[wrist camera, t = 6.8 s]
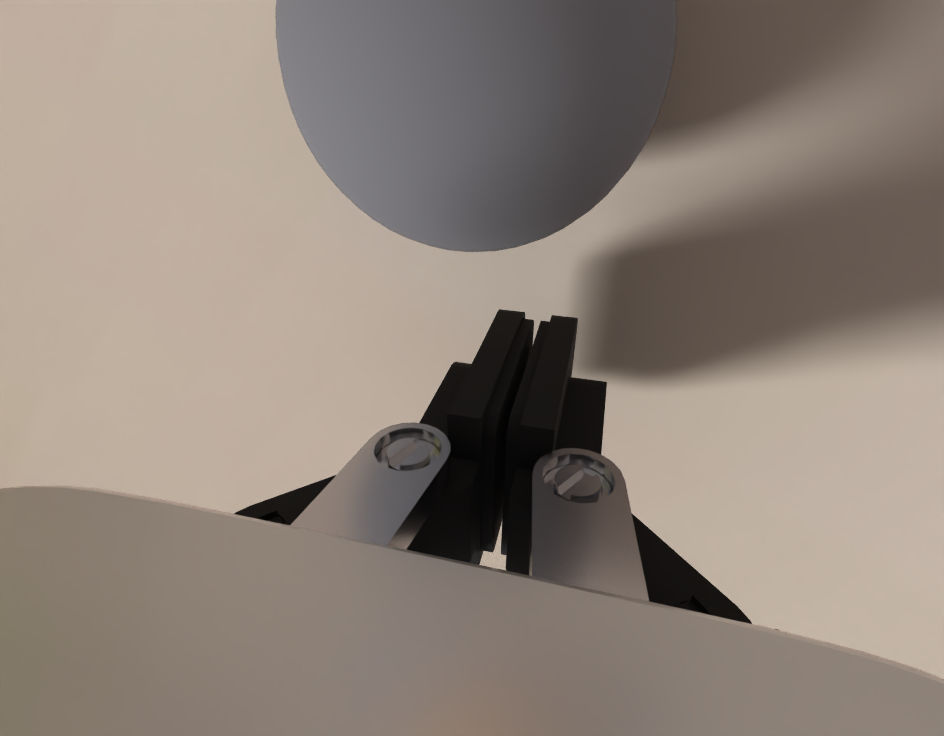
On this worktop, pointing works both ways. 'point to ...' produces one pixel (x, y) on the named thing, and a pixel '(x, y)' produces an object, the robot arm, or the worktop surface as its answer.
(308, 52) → the grey sphere
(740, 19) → the worktop surface
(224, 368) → the worktop surface
